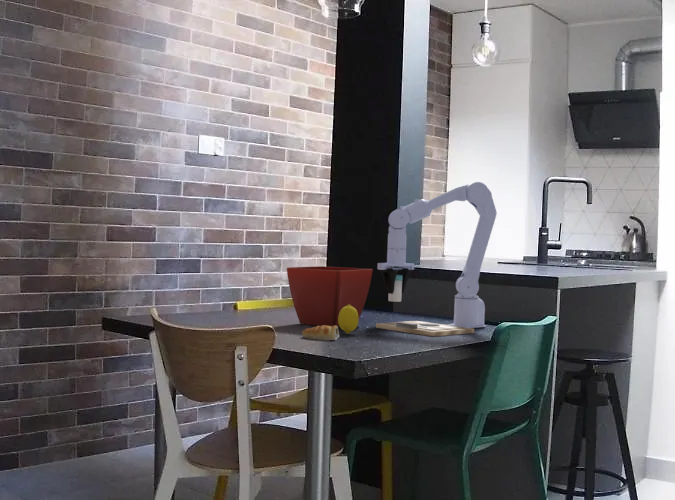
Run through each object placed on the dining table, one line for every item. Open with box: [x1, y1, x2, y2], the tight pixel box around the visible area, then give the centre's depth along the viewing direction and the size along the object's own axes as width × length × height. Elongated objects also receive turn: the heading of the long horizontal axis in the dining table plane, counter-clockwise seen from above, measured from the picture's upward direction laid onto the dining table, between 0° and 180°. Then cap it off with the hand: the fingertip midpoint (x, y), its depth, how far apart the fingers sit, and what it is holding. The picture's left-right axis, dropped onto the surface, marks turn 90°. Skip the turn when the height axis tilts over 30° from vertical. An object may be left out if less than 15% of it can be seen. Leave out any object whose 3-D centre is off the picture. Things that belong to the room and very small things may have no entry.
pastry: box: [301, 325, 340, 341], centre depth 209 cm, size 9×7×4 cm
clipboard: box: [375, 320, 475, 337], centre depth 236 cm, size 18×22×2 cm
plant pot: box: [286, 265, 373, 328], centre depth 241 cm, size 19×19×17 cm
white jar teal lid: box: [388, 275, 403, 303], centre depth 250 cm, size 4×4×8 cm
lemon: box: [338, 305, 360, 335], centre depth 221 cm, size 6×6×8 cm
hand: (395, 293), depth 250 cm, fingers closed on white jar teal lid, 4 cm apart
